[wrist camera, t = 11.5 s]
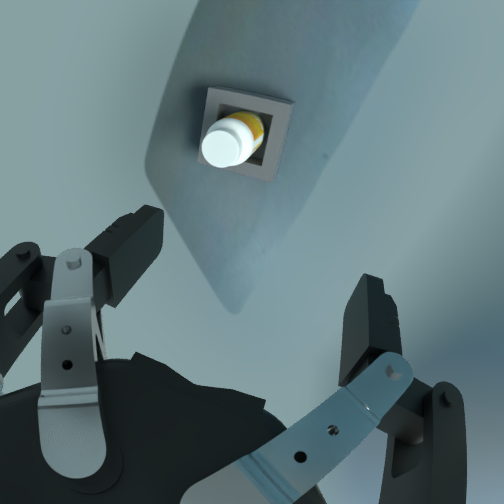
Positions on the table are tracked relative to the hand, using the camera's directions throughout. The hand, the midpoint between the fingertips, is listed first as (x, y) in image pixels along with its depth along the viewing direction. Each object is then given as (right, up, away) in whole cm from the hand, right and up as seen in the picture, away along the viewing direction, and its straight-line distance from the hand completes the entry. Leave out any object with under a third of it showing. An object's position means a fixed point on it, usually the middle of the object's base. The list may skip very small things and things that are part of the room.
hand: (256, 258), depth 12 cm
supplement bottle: (-1, +16, +26) cm, 30 cm away
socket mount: (-1, +16, +27) cm, 31 cm away
